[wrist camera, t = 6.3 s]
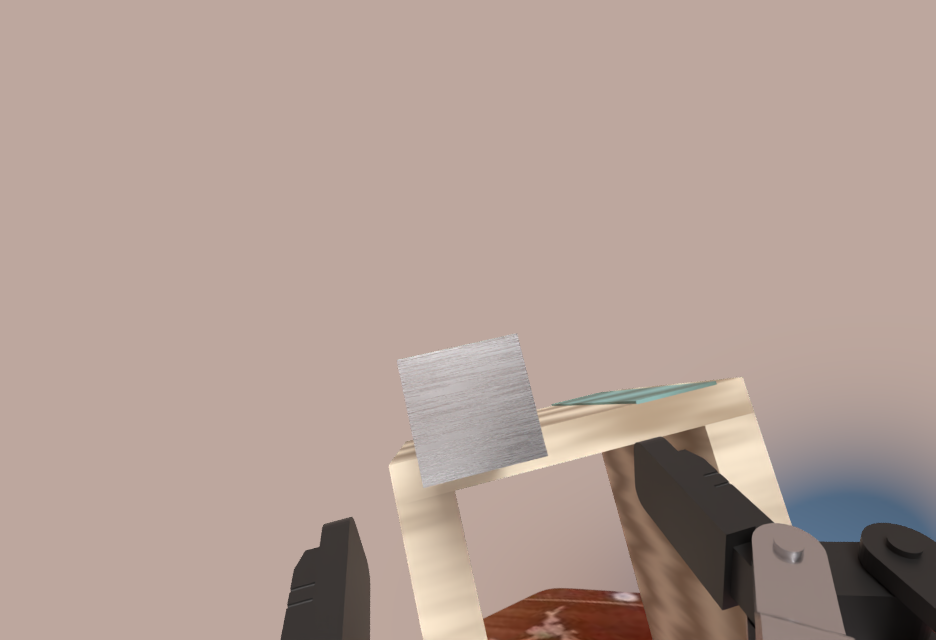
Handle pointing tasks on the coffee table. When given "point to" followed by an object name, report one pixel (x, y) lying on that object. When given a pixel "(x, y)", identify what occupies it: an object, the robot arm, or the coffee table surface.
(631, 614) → the coffee table surface
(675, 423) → the bridge
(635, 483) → the robot arm
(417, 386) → the block
